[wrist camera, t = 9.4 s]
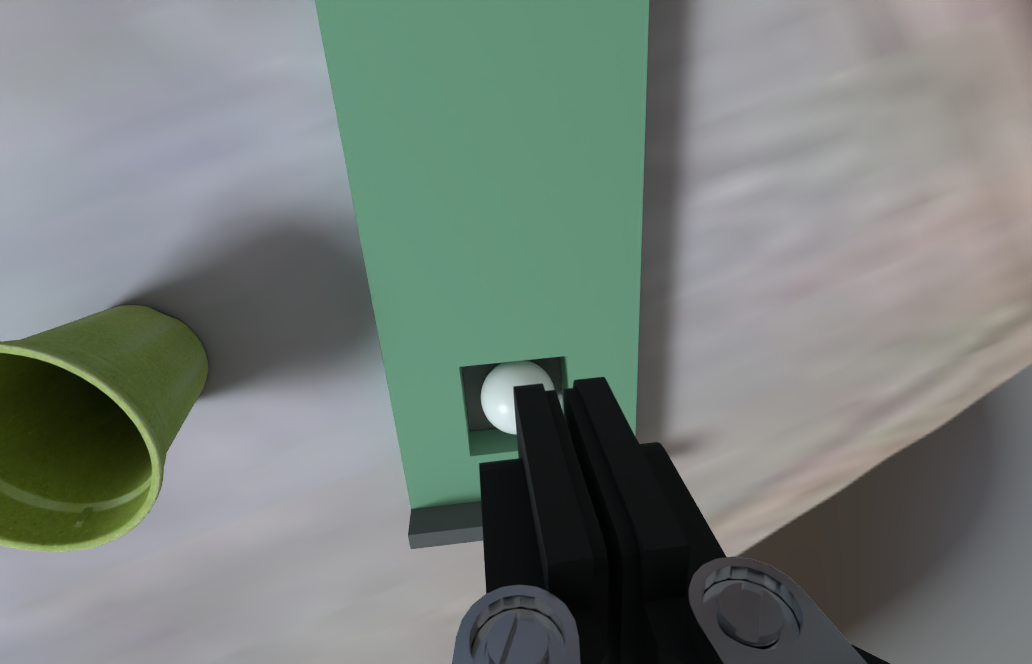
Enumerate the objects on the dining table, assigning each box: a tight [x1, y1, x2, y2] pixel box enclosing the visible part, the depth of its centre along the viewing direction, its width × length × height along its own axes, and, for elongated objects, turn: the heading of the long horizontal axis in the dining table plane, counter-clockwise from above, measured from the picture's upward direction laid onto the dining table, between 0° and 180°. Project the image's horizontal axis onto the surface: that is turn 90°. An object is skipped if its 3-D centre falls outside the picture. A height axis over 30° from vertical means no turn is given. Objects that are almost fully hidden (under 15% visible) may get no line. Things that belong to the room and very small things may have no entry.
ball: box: [481, 360, 555, 435], centre depth 29 cm, size 4×4×4 cm
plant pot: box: [0, 305, 208, 552], centre depth 24 cm, size 9×9×9 cm
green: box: [315, 0, 649, 549], centre depth 26 cm, size 28×13×4 cm, turn 4°
